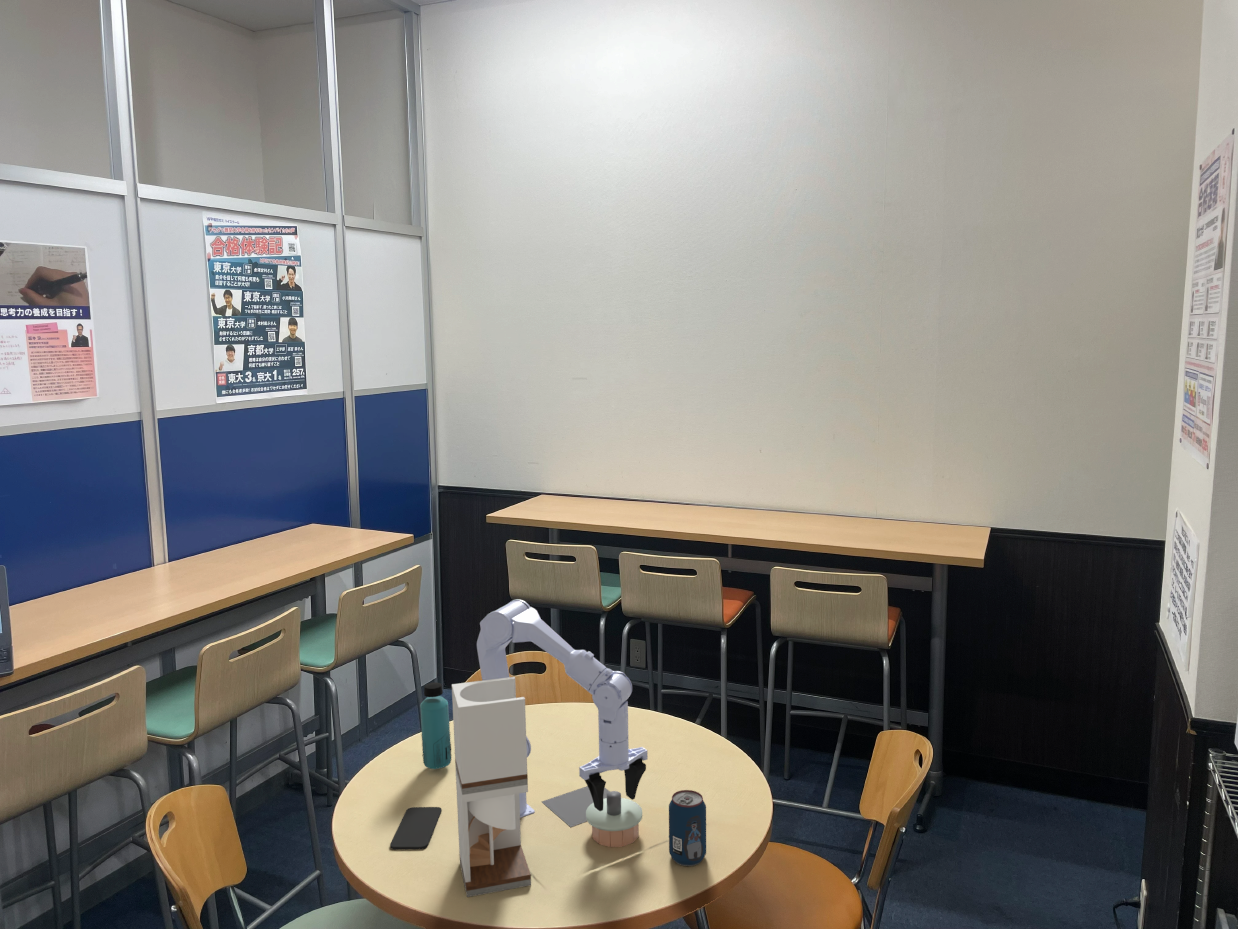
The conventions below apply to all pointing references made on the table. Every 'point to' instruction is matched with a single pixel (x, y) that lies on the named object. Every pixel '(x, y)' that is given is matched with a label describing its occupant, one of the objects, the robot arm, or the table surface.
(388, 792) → the table surface
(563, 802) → the mat
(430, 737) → the beverage bottle
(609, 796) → the lid
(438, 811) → the phone
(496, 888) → the coffee maker
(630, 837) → the bowl
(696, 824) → the soda can
